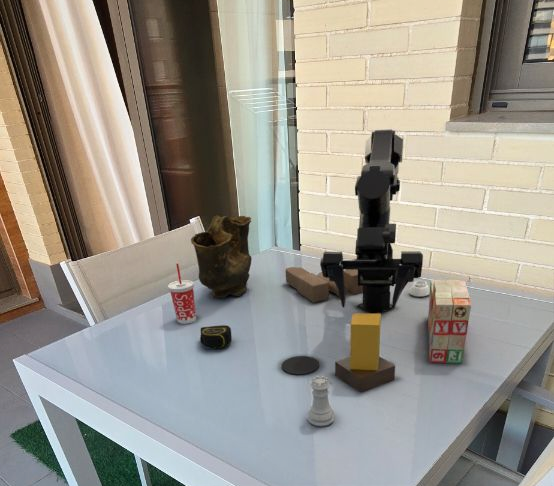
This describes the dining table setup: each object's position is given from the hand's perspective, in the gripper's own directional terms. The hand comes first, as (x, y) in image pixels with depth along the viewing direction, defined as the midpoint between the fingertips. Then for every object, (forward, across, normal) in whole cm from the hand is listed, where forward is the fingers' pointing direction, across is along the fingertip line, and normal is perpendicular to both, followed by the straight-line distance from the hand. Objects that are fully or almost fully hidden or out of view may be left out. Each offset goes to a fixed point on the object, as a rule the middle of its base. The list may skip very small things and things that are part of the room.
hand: (367, 307), depth 100 cm
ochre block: (+10, 0, +3) cm, 10 cm away
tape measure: (+4, -34, +14) cm, 36 cm away
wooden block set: (-22, -13, +39) cm, 46 cm away
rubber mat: (+10, -13, +7) cm, 18 cm away
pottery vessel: (-19, -40, +36) cm, 57 cm away
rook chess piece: (+23, -6, -6) cm, 25 cm away
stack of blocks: (0, +15, +17) cm, 23 cm away
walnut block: (+12, 0, +5) cm, 13 cm away
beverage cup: (-5, -45, +22) cm, 51 cm away
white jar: (-19, +10, +36) cm, 42 cm away
